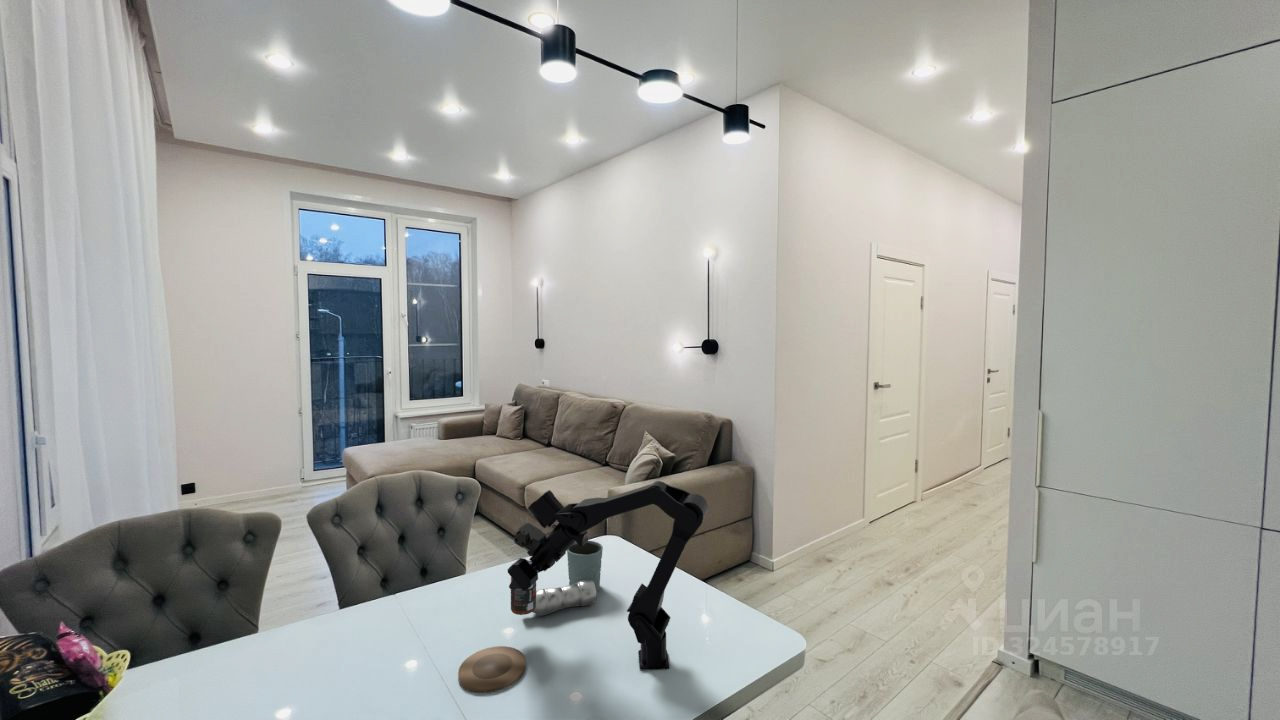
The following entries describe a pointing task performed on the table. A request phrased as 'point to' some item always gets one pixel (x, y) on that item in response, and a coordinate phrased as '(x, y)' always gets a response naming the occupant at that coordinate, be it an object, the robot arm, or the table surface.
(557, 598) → the plastic bottle
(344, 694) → the table surface
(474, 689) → the disc
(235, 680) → the table surface
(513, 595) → the supplement bottle
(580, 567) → the grey-green cup
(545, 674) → the table surface
